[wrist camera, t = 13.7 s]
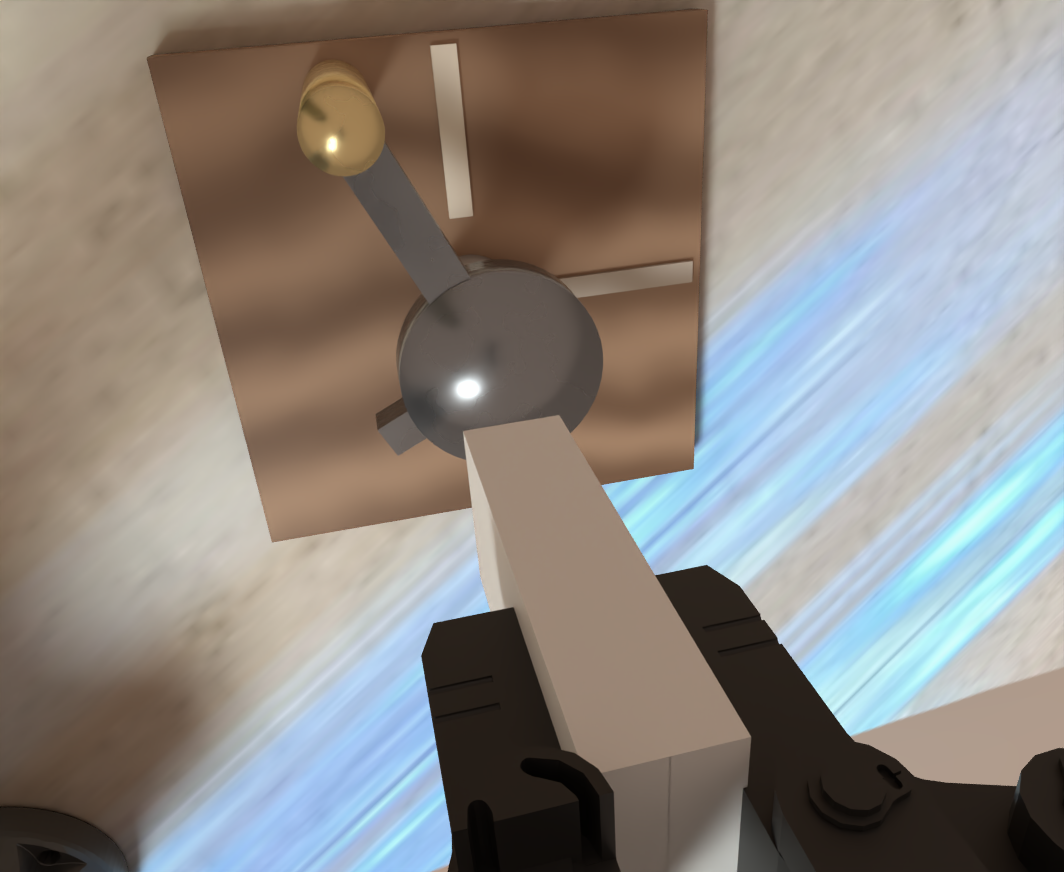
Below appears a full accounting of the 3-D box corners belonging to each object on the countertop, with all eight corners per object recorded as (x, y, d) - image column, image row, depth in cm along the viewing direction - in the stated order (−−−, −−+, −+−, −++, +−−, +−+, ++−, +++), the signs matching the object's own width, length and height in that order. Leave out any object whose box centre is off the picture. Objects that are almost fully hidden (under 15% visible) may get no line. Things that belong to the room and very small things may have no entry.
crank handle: (400, 9, 38) (427, 18, 29) (582, 325, 47) (648, 412, 38) (206, 137, 39) (169, 188, 29) (422, 424, 48) (447, 534, 38)
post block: (684, 457, 55) (744, 535, 48) (273, 528, 51) (265, 626, 44) (695, 8, 43) (779, 15, 35) (152, 55, 39) (110, 74, 31)
